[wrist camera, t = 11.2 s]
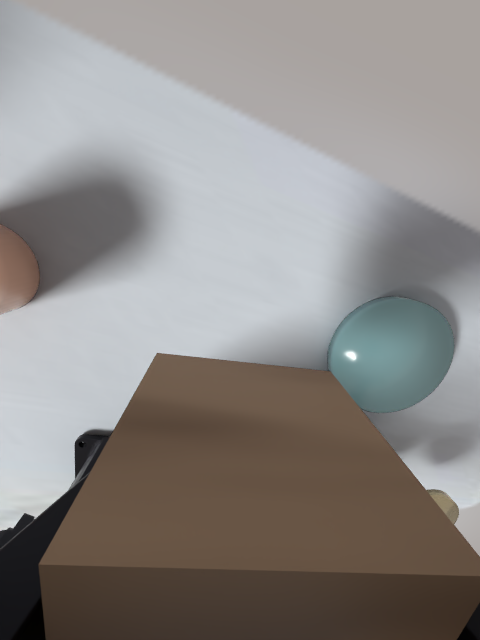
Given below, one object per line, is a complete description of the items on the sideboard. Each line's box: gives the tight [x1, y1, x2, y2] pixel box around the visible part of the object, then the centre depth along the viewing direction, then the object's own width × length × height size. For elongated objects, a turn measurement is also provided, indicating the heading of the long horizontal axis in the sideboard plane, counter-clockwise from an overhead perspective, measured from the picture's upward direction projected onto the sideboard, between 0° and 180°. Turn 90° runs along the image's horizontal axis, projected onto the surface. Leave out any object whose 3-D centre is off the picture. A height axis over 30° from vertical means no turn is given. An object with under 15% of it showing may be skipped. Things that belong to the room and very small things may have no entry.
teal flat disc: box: [327, 296, 454, 413], centre depth 18 cm, size 8×8×1 cm
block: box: [39, 353, 480, 640], centre depth 6 cm, size 5×5×5 cm
